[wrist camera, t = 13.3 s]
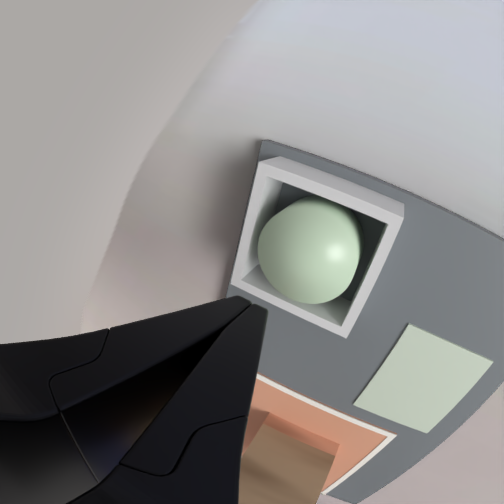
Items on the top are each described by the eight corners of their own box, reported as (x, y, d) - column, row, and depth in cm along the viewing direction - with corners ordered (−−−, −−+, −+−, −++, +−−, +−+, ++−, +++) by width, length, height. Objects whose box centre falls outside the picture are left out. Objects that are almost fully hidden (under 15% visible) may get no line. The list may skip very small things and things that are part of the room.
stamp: (311, 472, 19) (272, 547, 14) (252, 444, 21) (203, 515, 15) (339, 444, 17) (299, 537, 11) (269, 412, 18) (213, 498, 13)
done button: (344, 293, 13) (333, 318, 12) (269, 259, 14) (248, 278, 13) (377, 216, 11) (371, 232, 10) (290, 182, 12) (271, 192, 11)
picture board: (357, 499, 20) (348, 523, 18) (201, 427, 24) (184, 447, 22) (566, 278, 9) (588, 307, 7) (268, 139, 13) (238, 143, 11)
